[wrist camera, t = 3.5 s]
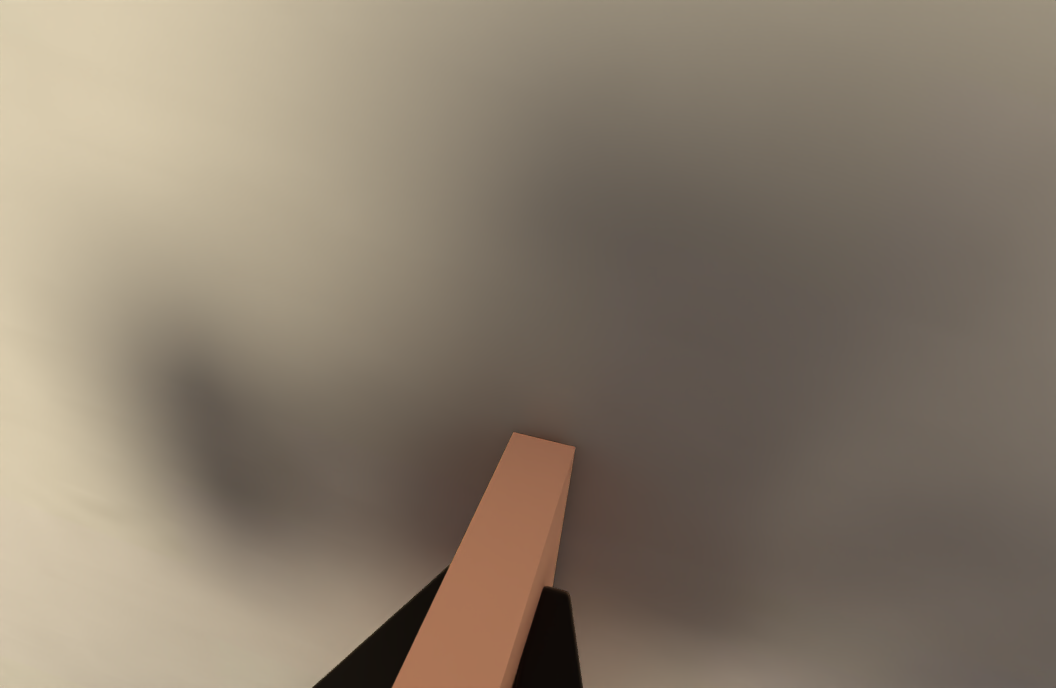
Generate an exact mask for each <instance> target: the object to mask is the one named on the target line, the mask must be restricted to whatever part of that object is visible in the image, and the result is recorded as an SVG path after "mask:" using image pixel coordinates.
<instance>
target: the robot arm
mask: <svg viewBox="0 0 1056 688" xmlns="http://www.w3.org/2000/svg"><path fill="white" fill-rule="evenodd" d="M449 567H450V565H449V566H448V567H447V568H446V569H444V570H443V571H442V572H441V573H440V574H439V575H438V576H437V577H436V578H434V579H433V580H432V581H431V582H430V583H429V584H428V585H427V586H425V587H424V588H423V589H422V590H421V591H420V592H419V593H418V594H416V595H415V596H414V597H413V598H412V599H411V600H410V601H409V602H408V603H406V604H405V605H404V606H403V607H402V608H401V609H400V610H399V611H397V612H396V613H395V614H394V615H393V616H392V617H391V618H390V619H388V620H387V621H386V622H385V623H384V624H383V625H382V626H381V627H380V628H378V629H377V630H376V631H375V632H374V633H373V634H372V635H371V636H369V637H368V638H367V639H366V640H365V641H364V642H363V643H362V644H360V645H359V646H358V647H357V648H356V649H355V650H354V651H353V652H352V653H350V654H349V655H348V656H347V657H346V658H345V659H344V660H343V661H341V662H340V663H339V664H338V665H337V666H336V667H335V668H334V669H332V670H331V671H330V672H329V673H328V674H327V675H326V676H325V677H324V678H322V679H321V680H320V681H319V682H318V683H317V684H316V685H315V686H313V687H312V688H392V687H393V684H394V682H395V680H396V678H397V676H398V674H399V672H400V670H401V668H402V666H403V663H404V661H405V659H406V657H407V655H408V653H409V651H410V649H411V647H412V644H413V642H414V640H415V638H416V636H417V634H418V632H419V630H420V628H421V626H422V623H423V621H424V619H425V617H426V615H427V613H428V611H429V609H430V607H431V604H432V602H433V600H434V598H435V596H436V594H437V592H438V590H439V588H440V586H441V583H442V581H443V579H444V577H445V575H446V573H447V571H448V569H449ZM515 688H583V685H582V677H581V670H580V663H579V656H578V649H577V642H576V634H575V627H574V620H573V613H572V606H571V599H570V595H569V593H568V592H567V591H564V590H561V589H557V588H554V587H550V586H545V587H544V588H543V590H542V593H541V596H540V599H539V602H538V605H537V609H536V612H535V615H534V618H533V621H532V624H531V627H530V631H529V634H528V637H527V640H526V643H525V646H524V650H523V653H522V656H521V659H520V662H519V666H518V670H517V675H516V681H515Z"/></svg>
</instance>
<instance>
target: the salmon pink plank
mask: <svg viewBox="0 0 1056 688" xmlns="http://www.w3.org/2000/svg"><path fill="white" fill-rule="evenodd" d="M574 453H575V447H573V446H569V445H565V444H561V443H557V442H552V441H548V440H544V439H540V438H536V437H532V436H528V435H523V434H519V433H515V432H513V434H512V436H511V438H510V440H509V442H508V444H507V447H506V449H505V451H504V453H503V455H502V457H501V459H500V461H499V463H498V465H497V468H496V470H495V472H494V474H493V476H492V478H491V480H490V482H489V484H488V487H487V489H486V491H485V493H484V495H483V497H482V499H481V501H480V503H479V506H478V508H477V510H476V512H475V514H474V516H473V518H472V520H471V522H470V524H469V527H468V529H467V531H466V533H465V535H464V537H463V539H462V541H461V543H460V546H459V548H458V550H457V552H456V554H455V556H454V558H453V560H452V562H451V564H450V567H449V569H448V571H447V573H446V575H445V577H444V579H443V581H442V583H441V586H440V588H439V590H438V592H437V594H436V596H435V598H434V600H433V602H432V604H431V607H430V609H429V611H428V613H427V615H426V617H425V619H424V621H423V623H422V626H421V628H420V630H419V632H418V634H417V636H416V638H415V640H414V642H413V644H412V647H411V649H410V651H409V653H408V655H407V657H406V659H405V661H404V663H403V666H402V668H401V670H400V672H399V674H398V676H397V678H396V680H395V682H394V684H393V687H392V688H515V681H516V675H517V670H518V666H519V662H520V659H521V656H522V653H523V650H524V646H525V643H526V640H527V637H528V634H529V631H530V627H531V624H532V621H533V618H534V615H535V612H536V609H537V605H538V602H539V599H540V596H541V593H542V590H543V588H544V587H545V586H550V587H553V581H554V575H555V569H556V563H557V557H558V551H559V544H560V538H561V532H562V526H563V520H564V514H565V508H566V502H567V496H568V489H569V483H570V477H571V471H572V465H573V459H574Z"/></svg>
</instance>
